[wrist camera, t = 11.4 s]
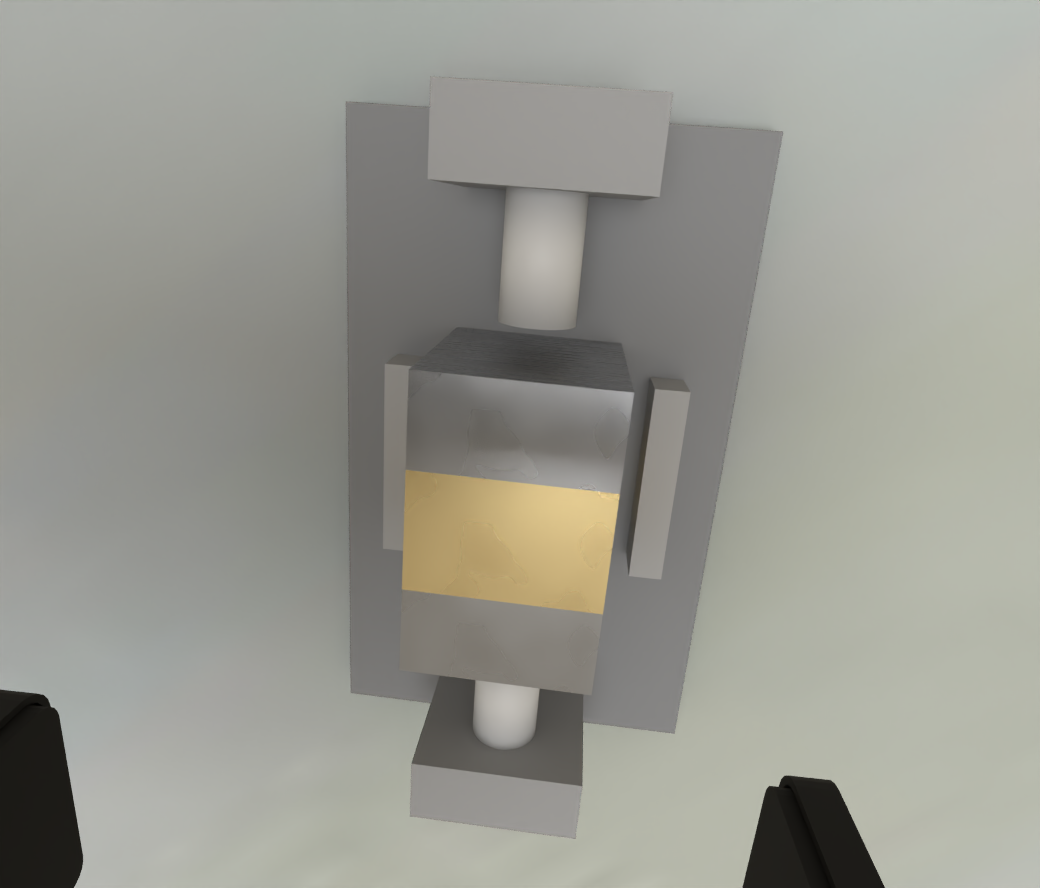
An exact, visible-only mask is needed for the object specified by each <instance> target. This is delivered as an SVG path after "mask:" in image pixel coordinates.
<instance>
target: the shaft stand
mask: <svg viewBox="0 0 1040 888" xmlns="http://www.w3.org/2000/svg"><path fill="white" fill-rule="evenodd" d="M672 98H673V92H660V91H645V90H630V89H614V88H599V87H584V86H569V85H553V84H538V83H523V82H508V81H492V80H477V79H462V78H447V77H431V76H430V107H417V106H403V105H388V104H374V103H359V102H346V173H347V296H348V420H349V544H350V667H351V693H356V694H364V695H372V696H379V697H387V698H395V699H403V700H411V701H419V702H427V703H431V704H430V708H429V711H428V714H427V717H426V720H425V723H424V726H423V729H422V732H421V736H420V739H419V742H418V745H417V748H416V751H415V754H414V757H413V760H412V764H411V799H410V816H412V817H419V818H427V819H434V820H441V821H448V822H456V823H463V824H470V825H478V826H485V827H492V828H499V829H507V830H514V831H521V832H529V833H536V834H543V835H550V836H558V837H565V838H572V839H575V838H576V831H577V823H578V815H579V808H580V800H581V792H582V769H583V722H586V723H594V724H602V725H610V726H617V727H625V728H633V729H641V730H649V731H657V732H665V733H673V734H674V733H675V728H676V722H677V716H678V711H679V705H680V700H681V694H682V689H683V683H684V678H685V672H686V667H687V661H688V656H689V650H690V645H691V639H692V633H693V628H694V622H695V617H696V611H697V606H698V600H699V595H700V589H701V584H702V578H703V573H704V567H705V562H706V556H707V550H708V545H709V539H710V534H711V528H712V523H713V517H714V512H715V506H716V501H717V495H718V490H719V484H720V479H721V473H722V468H723V462H724V456H725V451H726V445H727V440H728V434H729V429H730V423H731V418H732V412H733V407H734V401H735V396H736V390H737V385H738V379H739V373H740V368H741V362H742V357H743V351H744V346H745V340H746V335H747V329H748V324H749V318H750V313H751V307H752V302H753V296H754V290H755V285H756V279H757V274H758V268H759V263H760V257H761V252H762V246H763V241H764V235H765V230H766V224H767V219H768V213H769V207H770V202H771V196H772V191H773V185H774V180H775V174H776V169H777V163H778V158H779V152H780V147H781V141H782V136H783V132H782V131H768V130H753V129H738V128H724V127H709V126H695V125H680V124H669V121H670V113H671V105H672ZM457 327H463V328H473V329H483V330H493V331H503V332H513V333H523V334H533V335H543V336H554V337H564V338H574V339H584V340H594V341H604V342H614V343H622V346H623V350H624V354H625V358H626V362H627V366H628V370H629V374H630V378H631V382H632V386H633V390H634V398H633V405H632V412H631V419H630V426H629V434H628V441H627V448H626V455H625V462H624V469H623V476H622V483H621V490H620V497H619V504H618V511H617V518H616V525H615V532H614V539H613V547H612V554H611V561H610V568H609V575H608V582H607V589H606V596H605V603H604V610H603V617H602V624H601V631H600V638H599V645H598V653H597V660H596V667H595V674H594V681H593V688H592V695H585V694H577V693H570V692H562V691H554V690H547V689H539V688H532V687H524V686H516V685H509V684H501V683H494V682H486V681H478V680H471V679H463V678H456V677H448V676H440V675H433V674H425V673H418V672H410V671H402V670H399V666H400V634H401V602H402V569H403V537H404V505H405V473H406V440H407V408H408V376H409V369H410V368H411V367H412V366H413V365H414V364H415V363H417V362H418V361H419V360H420V359H421V358H422V357H423V356H425V355H426V354H427V353H428V352H429V351H430V350H431V349H433V348H434V347H435V346H436V345H437V344H438V343H439V342H441V341H442V340H443V339H444V338H445V337H446V336H447V335H449V334H450V333H451V332H452V331H453V330H454V329H455V328H457Z"/></svg>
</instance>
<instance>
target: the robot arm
mask: <svg viewBox="0 0 1040 888" xmlns="http://www.w3.org/2000/svg"><path fill="white" fill-rule="evenodd" d="M82 865H83V853H82V848H81V842H80V836H79V830H78V824H77V818H76V812H75V807H74V801H73V795H72V789H71V783H70V777H69V771H68V766H67V760H66V754H65V748H64V742H63V736H62V730H61V724H60V719H59V715H58V712H57V710H56V709H55V708H52V707H51V706H50V703H49V700H48V699H47V698H46V697H45V696H44V695H41V694H34V693H25V692H16V691H7V690H0V888H74V886H75V885H76V883H77V880H78V878H79V876H80V873H81V870H82ZM743 888H885V887H884V885H883V883H882V881H881V879H880V876H879V874H878V872H877V870H876V868H875V866H874V864H873V862H872V859H871V857H870V855H869V853H868V851H867V849H866V847H865V845H864V842H863V840H862V838H861V836H860V834H859V832H858V830H857V828H856V825H855V823H854V821H853V819H852V817H851V815H850V813H849V811H848V808H847V806H846V804H845V802H844V800H843V798H842V796H841V794H840V791H839V790H838V788H837V786H836V785H835V783H833V782H832V781H831V780H823V779H814V778H805V777H796V776H784V777H783V778H782V779H781V782H780V785H779V787H774V786H769V787H768V788H767V790H766V792H765V796H764V800H763V804H762V808H761V813H760V817H759V821H758V825H757V829H756V834H755V838H754V842H753V846H752V850H751V855H750V859H749V863H748V867H747V871H746V876H745V880H744V884H743Z"/></svg>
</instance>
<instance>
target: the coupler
mask: <svg viewBox="0 0 1040 888" xmlns="http://www.w3.org/2000/svg"><path fill="white" fill-rule="evenodd" d="M633 398H634V390H633V386H632V382H631V378H630V374H629V370H628V366H627V362H626V358H625V354H624V350H623V346H622V343H614V342H604V341H594V340H584V339H574V338H564V337H554V336H543V335H533V334H523V333H513V332H503V331H493V330H483V329H473V328H463V327H457V328H455V329H454V330H453V331H452V332H451V333H450V334H449V335H447V336H446V337H445V338H444V339H443V340H442V341H441V342H439V343H438V344H437V345H436V346H435V347H434V348H433V349H431V350H430V351H429V352H428V353H427V354H426V355H425V356H423V357H422V358H421V359H420V360H419V361H418V362H417V363H415V364H414V365H413V366H412V367H411V368H410V369H409V376H408V408H407V440H406V473H405V505H404V537H403V569H402V602H401V634H400V666H399V670H402V671H410V672H418V673H425V674H433V675H440V676H448V677H456V678H463V679H471V680H478V681H486V682H494V683H501V684H509V685H516V686H524V687H532V688H539V689H547V690H554V691H562V692H570V693H577V694H585V695H592V688H593V681H594V674H595V667H596V660H597V653H598V645H599V638H600V631H601V624H602V617H603V610H604V603H605V596H606V589H607V582H608V575H609V568H610V561H611V554H612V547H613V539H614V532H615V525H616V518H617V511H618V504H619V497H620V490H621V483H622V476H623V469H624V462H625V455H626V448H627V441H628V434H629V426H630V419H631V412H632V405H633Z"/></svg>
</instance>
